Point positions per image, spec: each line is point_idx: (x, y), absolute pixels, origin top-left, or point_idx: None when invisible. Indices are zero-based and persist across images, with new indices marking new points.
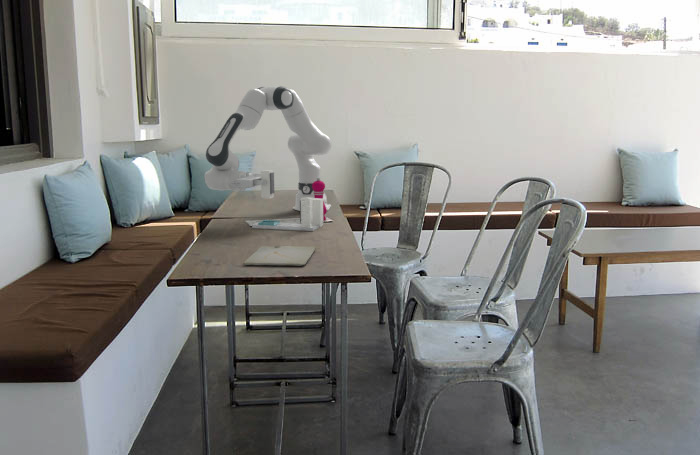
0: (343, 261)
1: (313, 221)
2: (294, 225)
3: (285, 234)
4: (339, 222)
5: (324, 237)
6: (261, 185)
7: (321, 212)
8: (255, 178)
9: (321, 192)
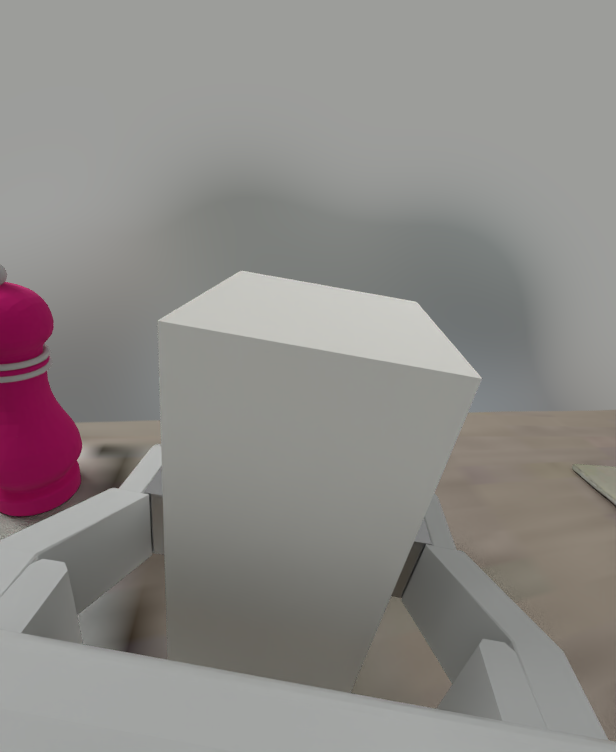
0: (605, 427)
1: None
2: None
3: None
4: (138, 428)
5: None
6: (360, 652)
7: None
8: (552, 735)
9: (48, 349)
